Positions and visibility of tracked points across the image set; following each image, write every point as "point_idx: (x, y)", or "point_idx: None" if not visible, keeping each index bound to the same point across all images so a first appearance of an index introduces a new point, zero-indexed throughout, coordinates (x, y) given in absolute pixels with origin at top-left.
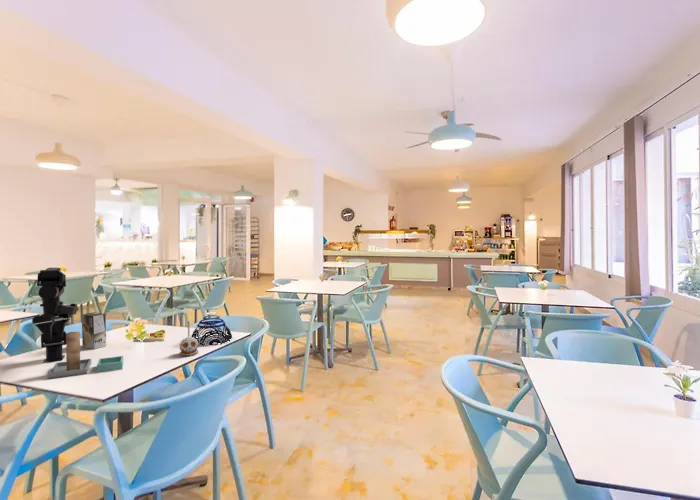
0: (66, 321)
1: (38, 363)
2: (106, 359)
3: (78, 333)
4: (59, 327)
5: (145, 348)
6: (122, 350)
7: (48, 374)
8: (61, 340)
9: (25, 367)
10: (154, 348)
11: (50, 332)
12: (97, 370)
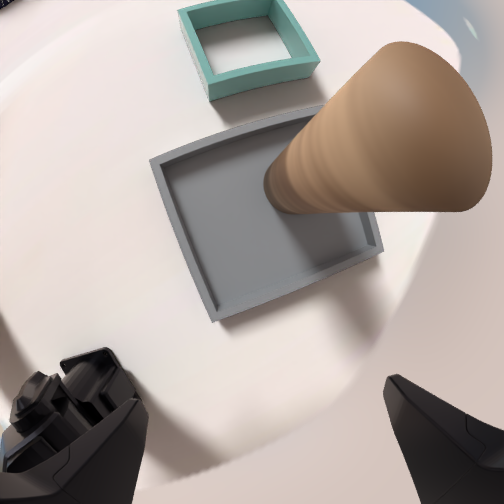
0: (14, 490)
1: (153, 414)
2: (205, 59)
3: (432, 56)
4: (106, 491)
5: (12, 69)
6: (4, 141)
7: (382, 250)
8: (70, 403)
9: (203, 429)
10: (25, 40)
11: (455, 409)
12: (311, 71)
